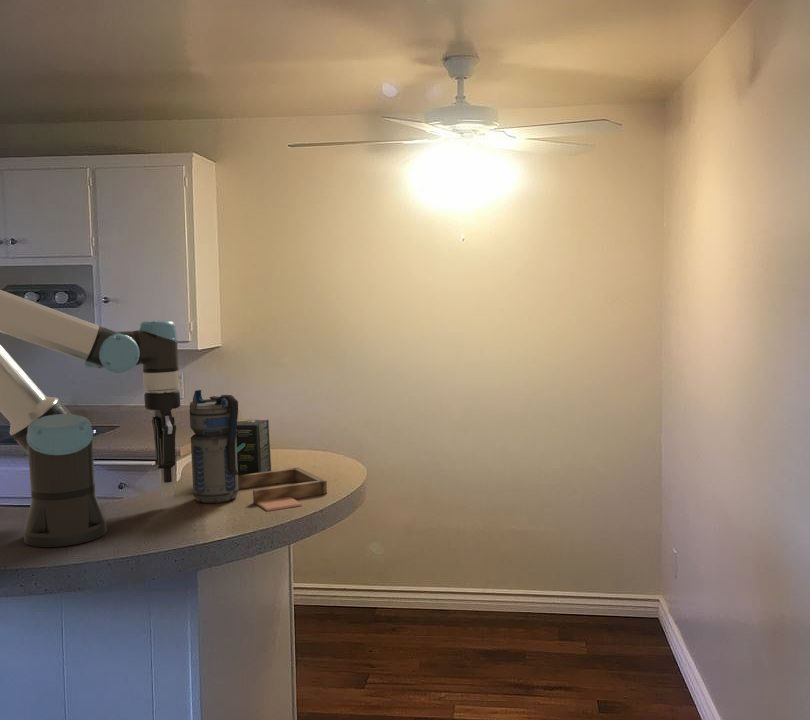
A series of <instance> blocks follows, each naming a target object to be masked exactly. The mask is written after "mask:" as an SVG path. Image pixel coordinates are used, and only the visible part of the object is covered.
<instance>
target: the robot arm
mask: <svg viewBox="0 0 810 720" xmlns="http://www.w3.org/2000/svg"><path fill="white" fill-rule="evenodd" d="M176 327H177V326H176V324H175V322H174V321H172V320H166V319H165V320H151V321H149V320H148V321H147V320H145V321H142V322H141V323H140V328H139V330H138V329H137V330H132V331H131V330H130V331H127V330H126V331H115V330H112V329H110V328H106V327H103V326H100V325H99V324H96V323H92V322H90V321H87V320H84V319H81V318H79V317H76V316H73V315H71V314H67V313H65V312H62V311H59V310H57V309H54V308H51V307H49V306H47V305H43V304H41V303H38V302H35V301H32V300H30V299H27V298H24V297H22V296H19V295H15V294H14V293H10V292H7V291H5V290H2V289H0V333H1V334H5V335H8V336H10V337H13V338H16V339H20V340H22V341H25V342H28V343H31V344H33V345H36V346H40V347H43V348H46V349H48V350H50V351H54V352H57V353H60V354H62V355H63V354H64V355H66V356H69V357H72V358H76V359H78V360H81V361H83V364H84V365H85V367H86V368H89V369H90V368H91V369H93V368H94V369H102V368H104V369H106V370H107V371H110V372H112V373H117V374H122V373H126V372H128V371H130V370H132V369H133V368H134V367H135V366H142V379H143V380H142V381H143V390H144V391H146V392H145V393H144V394H143V395H144V398H143V399H144V408H145V409H146V410H148V411H154V416H152V419H151V424H152V429H153V439H154V448H155V461H156V463H157V469H158V470H159V471H158V472H159V473H158V475H159V490H160V491H159V492H160V497H161V498H167V497H169V498H170V497H174V496H175V483H174V481H175V479H174V466H176V433H177V424H175V422H176V421H175V417H174V416H173V414H172V410H173V409H178V408H180V406H181V392H180V390H177V389H179V388H180V379H181V378H182V374H179V355H178V354H179V353H178V350H179V349H178V348H179V347H178V342H179V341H178V337H177V328H176ZM0 413H1V414H2V415H3V417H4V418H5V419H7V420H8V422H9V424H10V428H9V435H10V436H11V437H12V438H13V439H14V441H16V442H17V444H18V445H19V446H20V447H21V449H22V450H23V451H24V452H25V453H26V454H27V455H28V463H29V465H28V467H29V481H30V494H31V499H30V500H31V503H30V505H29V510H28V513H27V516H26V521H25V525H24V526H23V527H24V528H23V542H24V543H25V544H26V545H27V546H31V547H36V548H37V547H39V548H59V547H68V546H74V545H79V544H84V543H87V542H91V541H93V540H97V539H100V538H101V537H103V536H105V535H106V533H107V532H108V530H107V527H108V526H107V519H106V517H105V515H104V512H103V510H102V508H101V505H100V502H99V500H98V498H97V495H96V494H97V493H96V483H95V481H96V479H95V468H94V467H95V465H94V449H93V448H94V447H93V438H94V431H93V429H92V424H91V421H90V420H89V419H88V418H87V417H85V416H83V415H77V414H74V413H71V411H70V410H69V409H68V408H67V407H66V405H64V404H63V403H62V402H61V400H60V399H59V398H58V397H53V396H52V397H51V396H47V395H45V393H44V392H43V391H42V390H41V389H40V388H39V387H38V385H37V384H36V383H35V382H34V381H33V380H32V378H30V376H29V375H28V374H27V373H26V372H25V371H24V369H22V366H20V365H19V364H18V363H17V361H16V360H15V359H14V358H13V357H12V355H11V354H10V353H9V352H8V350H6V349H5V348H4V346H2V345H1V343H0Z"/></svg>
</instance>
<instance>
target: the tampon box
mask: <svg viewBox="0 0 810 720" xmlns="http://www.w3.org/2000/svg"><path fill="white" fill-rule="evenodd" d="M269 422H270V421H269V419H237V429H236V442H237V467H238V475H244V474H252V473H260V472H267V471H272V462H271V461H272V460H271V459H272V458H271V444H270V443H271V441H270V428H269V427H270V426H269Z"/></svg>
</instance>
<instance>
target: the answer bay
mask: <svg viewBox="0 0 810 720" xmlns="http://www.w3.org/2000/svg"><path fill="white" fill-rule="evenodd" d="M327 481H328V480H326V479H324V478H322V477H319V476H317V475H315V474H313V473H311V472H308V471H307V470H305V469H302V468H301V467H291V468H283V469H277V470H271V471H267V472H260V473H252V474H244V475H238V490H241V488H242V489H248V488H255V487H262V486H268V485H270V486H271V485H277V484H276V483H278V484H283V483H284V482H285V483H291V482H296V483H292V484H284V485H277V486H271V487H270V486H269V487H263V488H256V489H253V490H252V499H253V502H252V503H253V504H255V505H257V502H259V501H266V500H273V499H280V498H286V497H291V498H293V499H300V498H308V497H313V496H314V497H315V496H319V495H320V496H321V495H327V493H328V489H327V487H328V486H327V485H328V484H327V483H328V482H327Z"/></svg>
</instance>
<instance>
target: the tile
mask: <svg viewBox="0 0 810 720" xmlns="http://www.w3.org/2000/svg"><path fill="white" fill-rule="evenodd" d="M256 505H257V506H259V507H260V508H261V509H263V510H265V511H266V512H269V511H270V512H271V511H276V510H283V509H288V508H289V509H291V508H295V507H302V506H303V503H302V502H300V501H298V500H296V498H294V499H293V498H291V497H286V498H280V499H273V500H266V501H259V502H257V504H256Z"/></svg>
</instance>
